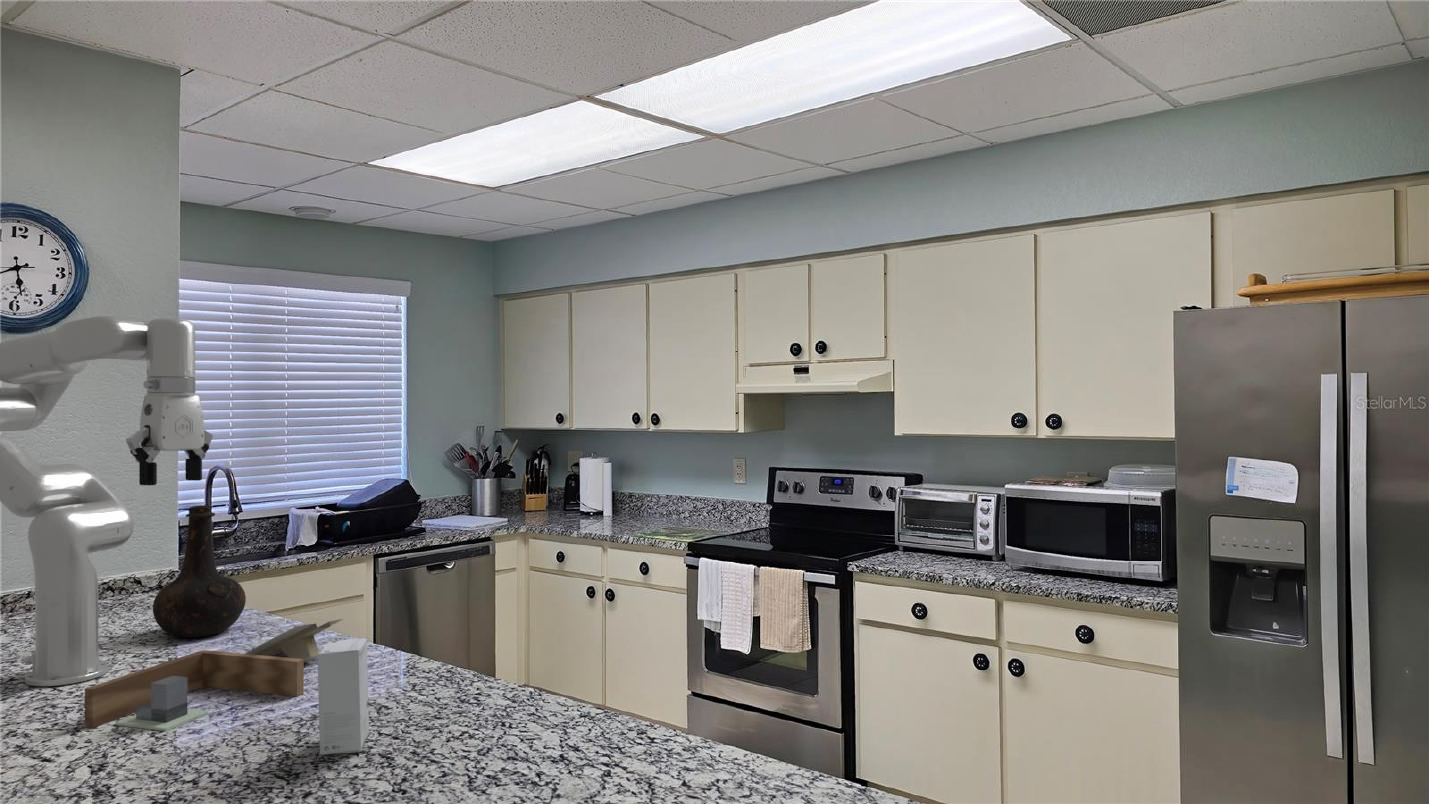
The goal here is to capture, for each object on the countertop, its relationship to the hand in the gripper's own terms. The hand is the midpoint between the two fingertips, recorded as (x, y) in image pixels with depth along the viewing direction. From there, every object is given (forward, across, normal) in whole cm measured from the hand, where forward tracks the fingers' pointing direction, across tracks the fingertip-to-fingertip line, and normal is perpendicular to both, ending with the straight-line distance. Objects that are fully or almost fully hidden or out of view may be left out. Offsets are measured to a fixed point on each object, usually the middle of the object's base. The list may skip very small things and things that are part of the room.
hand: (171, 482), depth 163 cm
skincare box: (+36, -16, -49) cm, 63 cm away
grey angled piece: (+37, +16, -11) cm, 42 cm away
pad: (+36, -15, -14) cm, 42 cm away
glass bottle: (+37, +30, +24) cm, 53 cm away
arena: (+36, -9, -16) cm, 41 cm away
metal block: (+36, -15, -14) cm, 41 cm away
